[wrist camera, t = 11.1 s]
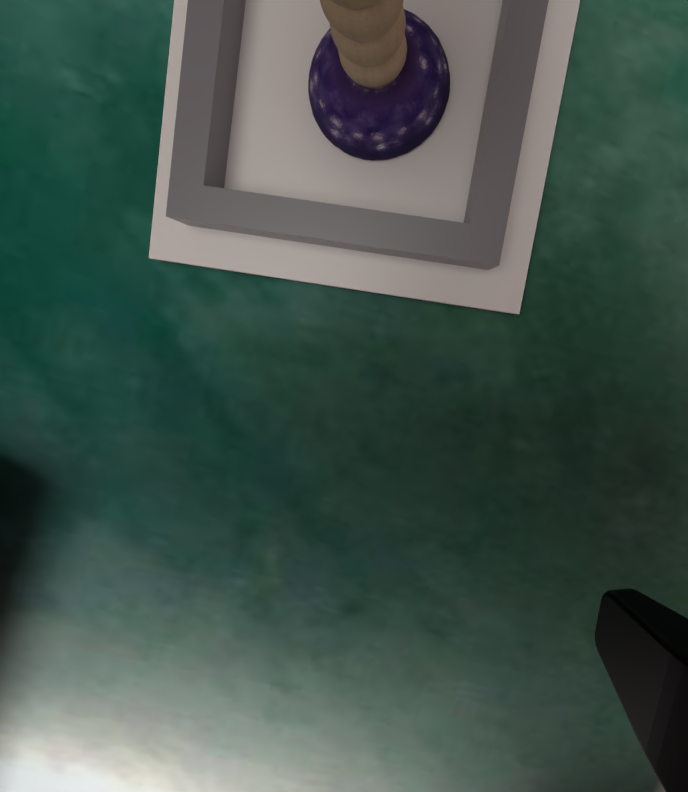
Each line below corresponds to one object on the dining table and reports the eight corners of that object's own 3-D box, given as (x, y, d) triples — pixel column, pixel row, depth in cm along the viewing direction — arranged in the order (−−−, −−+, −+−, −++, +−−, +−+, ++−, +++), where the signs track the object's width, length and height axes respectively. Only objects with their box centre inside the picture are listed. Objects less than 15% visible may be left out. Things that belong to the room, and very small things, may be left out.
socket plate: (589, -86, 18) (628, -163, 15) (513, 314, 20) (533, 315, 17) (200, -130, 19) (164, -212, 16) (160, 260, 21) (121, 252, 18)
